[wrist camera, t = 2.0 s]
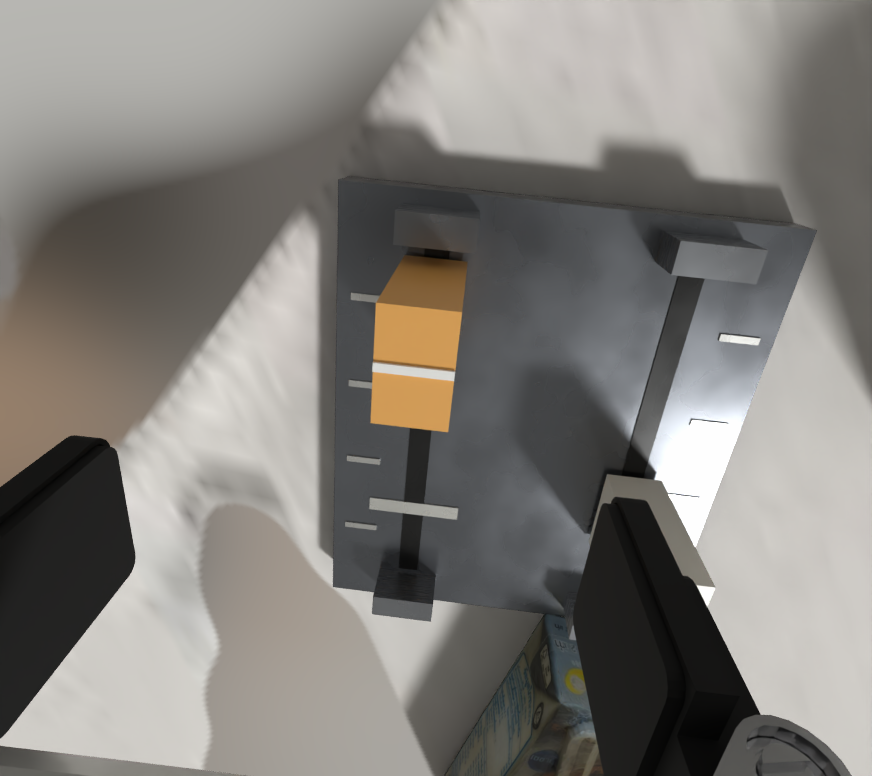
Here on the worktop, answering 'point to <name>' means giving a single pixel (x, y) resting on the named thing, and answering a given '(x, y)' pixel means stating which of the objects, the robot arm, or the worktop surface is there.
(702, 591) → the cream fader
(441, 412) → the orange fader
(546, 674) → the beverage carton
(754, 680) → the worktop surface
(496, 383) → the console
